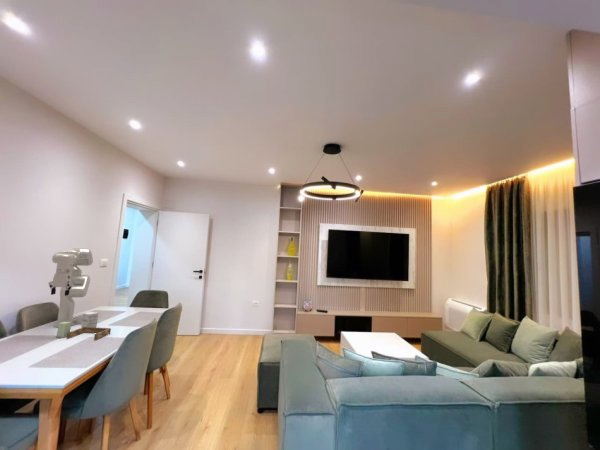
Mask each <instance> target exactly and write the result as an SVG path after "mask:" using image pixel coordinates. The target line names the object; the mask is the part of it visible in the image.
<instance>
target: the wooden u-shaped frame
mask: <svg viewBox="0 0 600 450" xmlns="http://www.w3.org/2000/svg"><path fill="white" fill-rule="evenodd" d="M111 332H112V330H111V328H110V327H108V328H107V327H96V328H95V327H82V328H81V327H79V328H77V329H74V330H72V331H71V330H70V332H68V333H67V337H66V340H69V339H71V338H74V337H76V336H79V335H81V334H94V335H93V336H94V337H93V340H94V341H97V340H100V339H102V338H104V337H107V336H109V335H111ZM95 333H96V334H95ZM108 334H109V335H108Z"/></svg>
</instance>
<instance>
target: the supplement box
mask: <svg viewBox="0 0 600 450" xmlns="http://www.w3.org/2000/svg"><path fill="white" fill-rule="evenodd" d="M98 318H99V312H96V311H88V312H83V313H82V319H81V327H80V328H82V327H95V328H98V327H97V326H98V320H99V319H98Z"/></svg>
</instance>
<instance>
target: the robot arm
mask: <svg viewBox="0 0 600 450" xmlns="http://www.w3.org/2000/svg"><path fill="white" fill-rule="evenodd" d="M51 260H52V261H51V262H52V263H54V264H56V269H55V273H54V275H53V277H52V280H51V281H50V282H48V286H49V288H50V295H55V294H56V293H57V292H56V291H57V288H60V289H59V307H58V315H57V321H56V323H55V324H54V328H58V323H62V322H71V327H72V326H75V324H76V323H75V322H74V321H76V320H77V319H78V318H77V317H74V312H75V306H76V302H75V300H74V299H73V298H85V297H86V296H87V294H88V291H89V287H90V283H91V278H90V276H89V275H88V274H87V275H86V274H82V273H83V271H82V270H81V268H80V266H84V267H89V266H91V265H92V264H93V262H94V258H93V253H92V251H91V249H89V248H77V247H76V248H73V249H70V250H65V251H64V250H63V251H62V250H61V251H58V252H56V253H54V254H53V255H52V258H51Z"/></svg>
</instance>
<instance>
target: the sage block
mask: <svg viewBox="0 0 600 450" xmlns="http://www.w3.org/2000/svg"><path fill="white" fill-rule="evenodd" d="M71 328H72V326H71V322H62V323H58V327H57V332H56V336H58V337H65V336H67V333H68V332H71Z"/></svg>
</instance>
